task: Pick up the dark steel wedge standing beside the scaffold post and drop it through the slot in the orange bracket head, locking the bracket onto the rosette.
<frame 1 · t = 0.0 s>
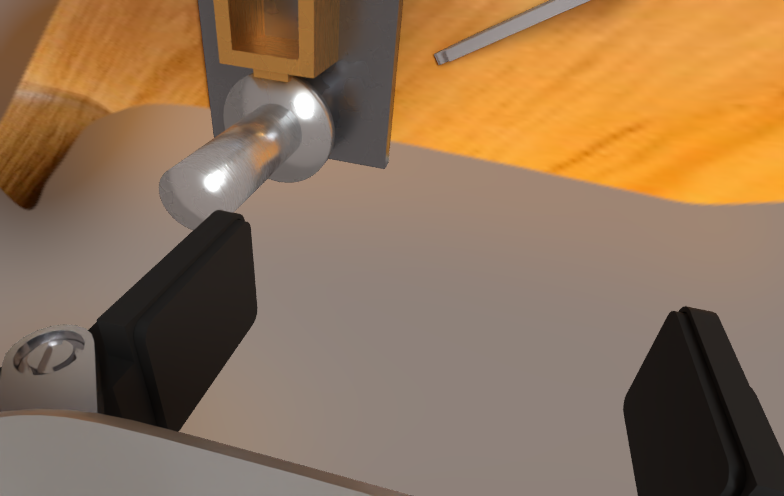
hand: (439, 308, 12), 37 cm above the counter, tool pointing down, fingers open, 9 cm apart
caliper: (553, 2, 40), on the counter
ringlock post: (301, 44, 46), on the counter
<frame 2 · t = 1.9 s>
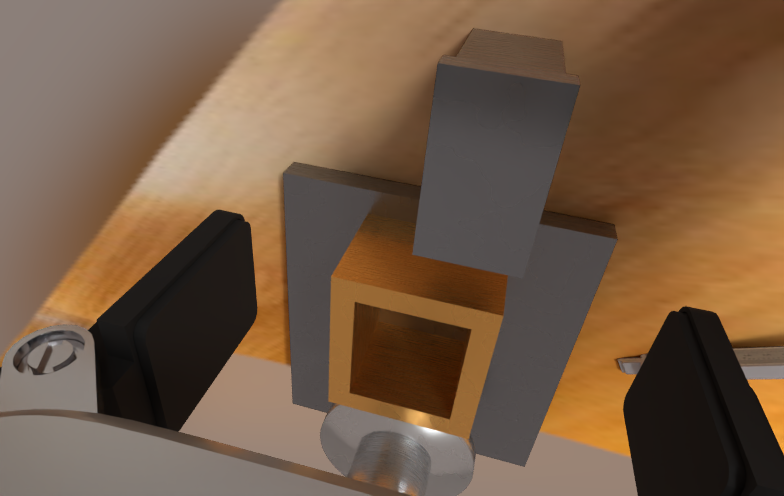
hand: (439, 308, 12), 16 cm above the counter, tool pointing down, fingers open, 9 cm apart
wedge: (505, 89, 25), on the counter
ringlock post: (424, 323, 34), on the counter
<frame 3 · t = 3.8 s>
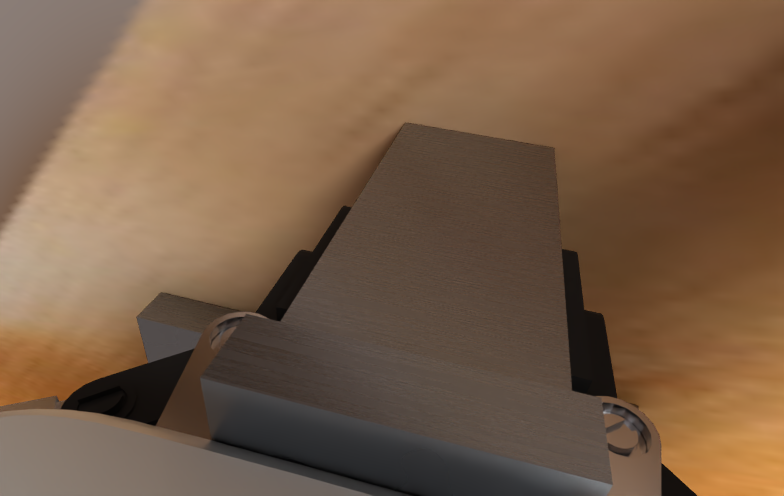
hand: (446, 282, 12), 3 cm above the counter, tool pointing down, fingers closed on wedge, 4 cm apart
wedge: (462, 215, 15), on the counter, touching gripper
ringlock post: (366, 494, 24), on the counter
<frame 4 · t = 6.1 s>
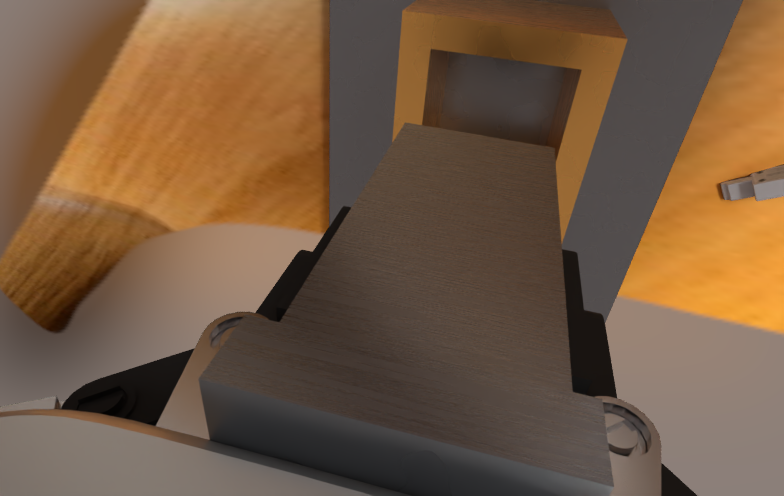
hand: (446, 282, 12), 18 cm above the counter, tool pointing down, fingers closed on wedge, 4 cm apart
wedge: (462, 215, 15), point 14 cm above the counter, touching gripper
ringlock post: (487, 157, 29), on the counter
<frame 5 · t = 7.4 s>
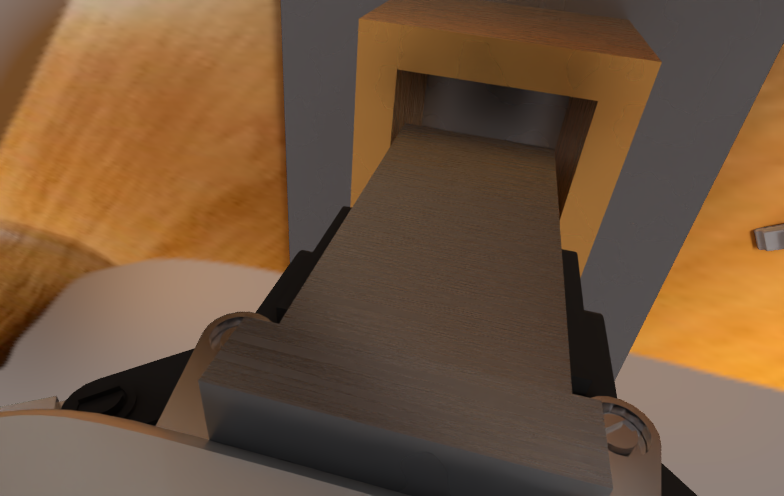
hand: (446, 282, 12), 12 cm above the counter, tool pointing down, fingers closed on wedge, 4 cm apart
wedge: (462, 216, 15), point 9 cm above the counter, touching gripper
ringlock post: (475, 193, 24), on the counter
when the fingers open (9 cm above the counter, at t = 8.5 s): wedge drops 4 cm, resting on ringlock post.
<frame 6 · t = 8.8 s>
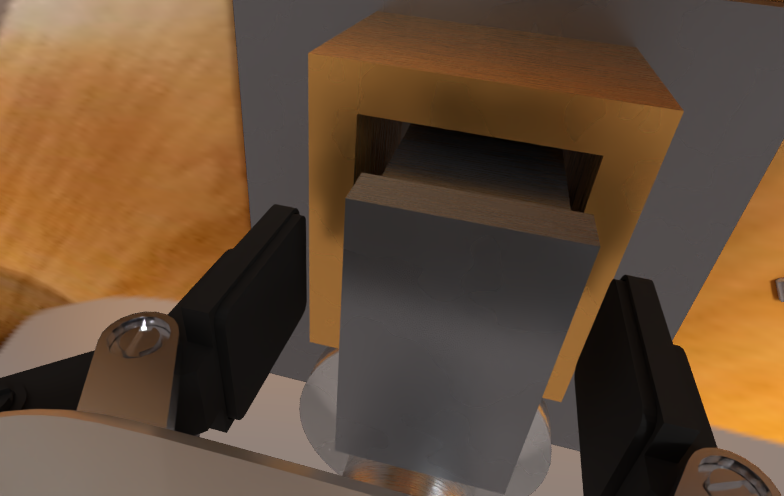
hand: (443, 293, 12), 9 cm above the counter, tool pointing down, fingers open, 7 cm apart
wedge: (479, 161, 18), point 2 cm above the counter, touching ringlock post
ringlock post: (462, 234, 22), on the counter
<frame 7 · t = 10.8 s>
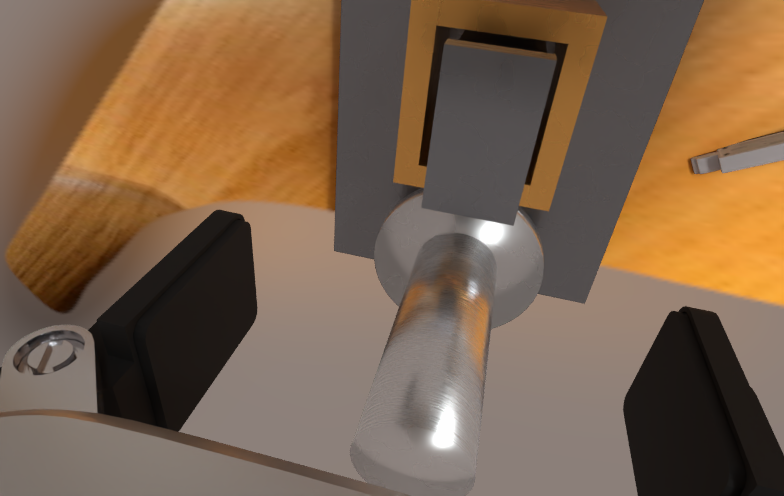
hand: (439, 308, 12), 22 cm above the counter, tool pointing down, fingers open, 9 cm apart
wedge: (497, 75, 28), point 1 cm above the counter, touching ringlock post
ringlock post: (483, 135, 32), on the counter
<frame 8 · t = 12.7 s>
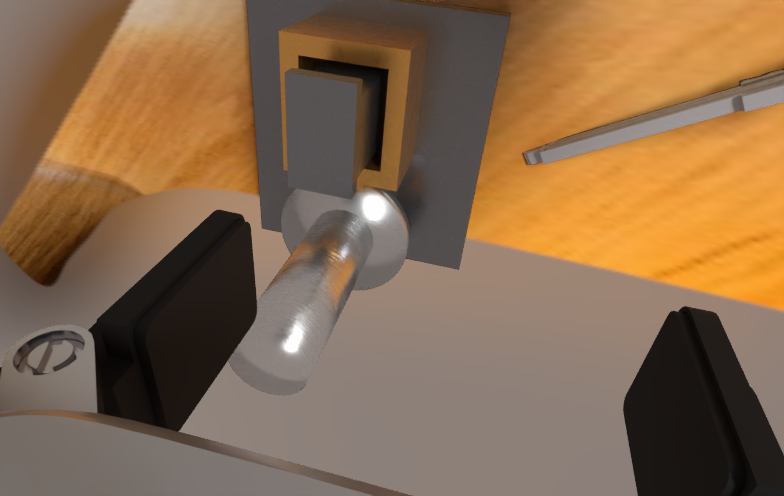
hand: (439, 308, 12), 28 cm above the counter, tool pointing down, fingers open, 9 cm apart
caliper: (672, 102, 34), on the counter
wedge: (368, 88, 37), point 1 cm above the counter, touching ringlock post
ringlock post: (369, 134, 40), on the counter
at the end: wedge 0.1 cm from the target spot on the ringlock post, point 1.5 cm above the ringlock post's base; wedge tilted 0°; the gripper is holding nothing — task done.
